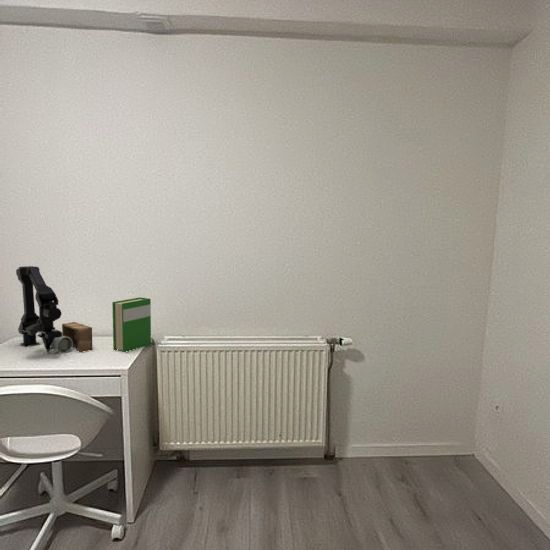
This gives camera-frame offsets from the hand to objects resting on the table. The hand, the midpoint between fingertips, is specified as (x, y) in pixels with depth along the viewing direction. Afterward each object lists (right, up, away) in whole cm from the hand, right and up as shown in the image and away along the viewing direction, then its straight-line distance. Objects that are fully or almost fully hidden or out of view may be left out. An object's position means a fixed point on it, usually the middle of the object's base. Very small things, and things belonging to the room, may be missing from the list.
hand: (47, 349), depth 200 cm
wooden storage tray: (+9, -1, +11) cm, 14 cm away
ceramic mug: (+4, -2, +3) cm, 5 cm away
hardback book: (+36, -2, +14) cm, 38 cm away
